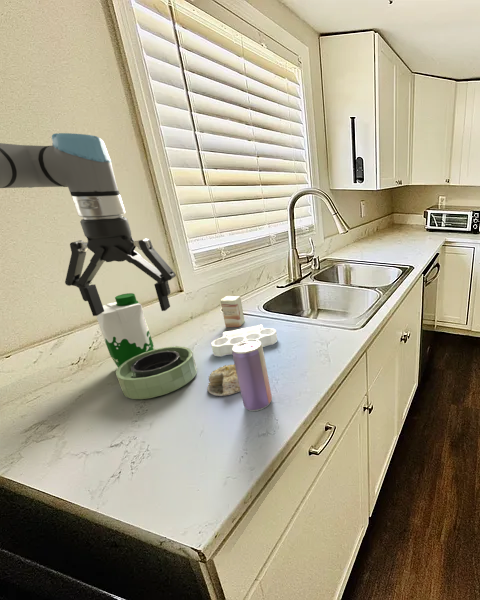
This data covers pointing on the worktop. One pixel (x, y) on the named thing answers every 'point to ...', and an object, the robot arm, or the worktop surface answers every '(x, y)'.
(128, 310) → the milk carton
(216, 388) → the cake
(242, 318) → the small white box
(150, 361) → the charcoal bowl
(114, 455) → the worktop surface
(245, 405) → the beverage can
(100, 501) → the worktop surface
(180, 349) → the green bowl
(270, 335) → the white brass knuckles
